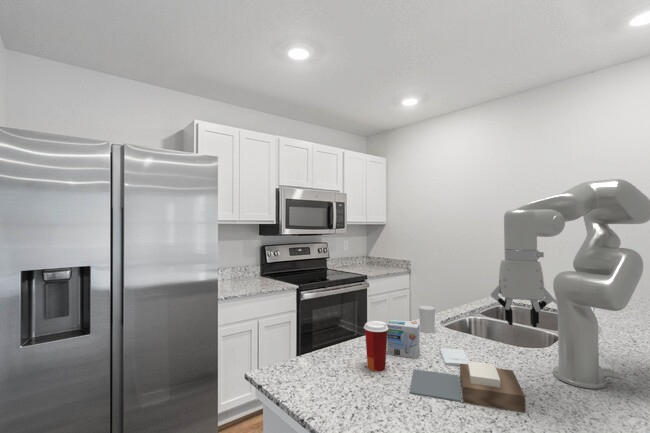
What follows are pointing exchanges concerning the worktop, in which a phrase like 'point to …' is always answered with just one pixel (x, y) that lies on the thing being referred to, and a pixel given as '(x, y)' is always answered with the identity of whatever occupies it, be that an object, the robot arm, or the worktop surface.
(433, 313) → the grey tapered cup
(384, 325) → the paper cup
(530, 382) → the worktop surface
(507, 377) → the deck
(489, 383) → the cream rectangular block
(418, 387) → the mat
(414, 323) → the light bulb box
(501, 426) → the worktop surface
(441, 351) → the external hard drive
